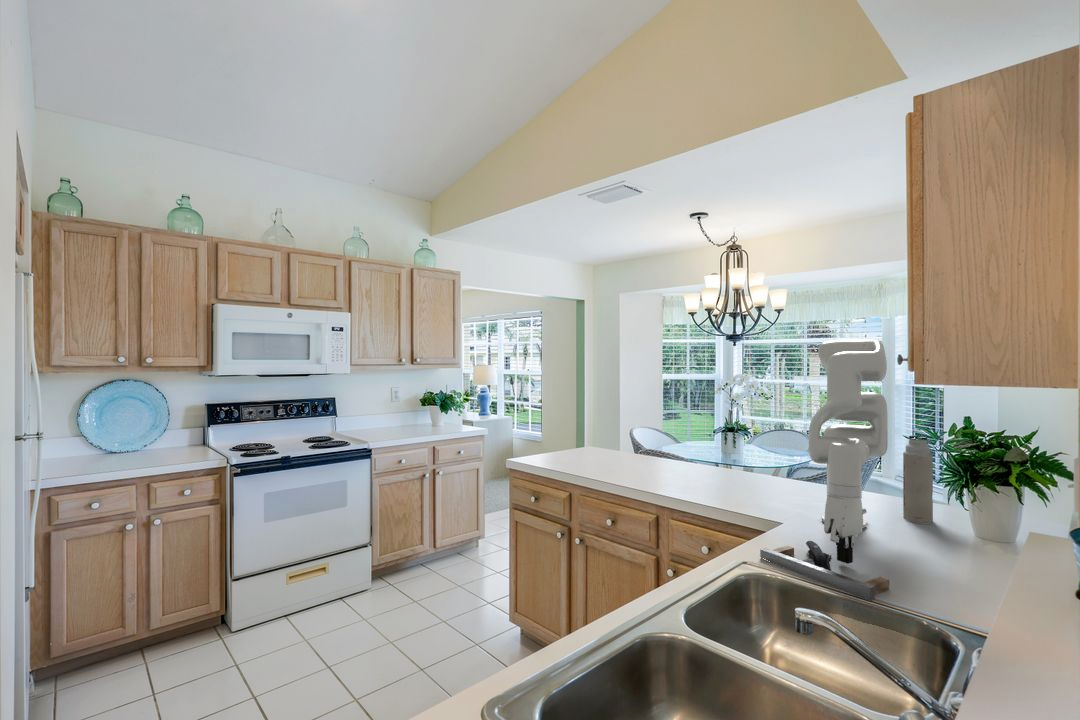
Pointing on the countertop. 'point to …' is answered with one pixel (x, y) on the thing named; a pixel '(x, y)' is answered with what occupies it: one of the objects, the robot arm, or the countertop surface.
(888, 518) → the countertop surface
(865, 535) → the countertop surface
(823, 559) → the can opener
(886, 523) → the countertop surface
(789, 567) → the dock
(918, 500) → the thermos bottle
